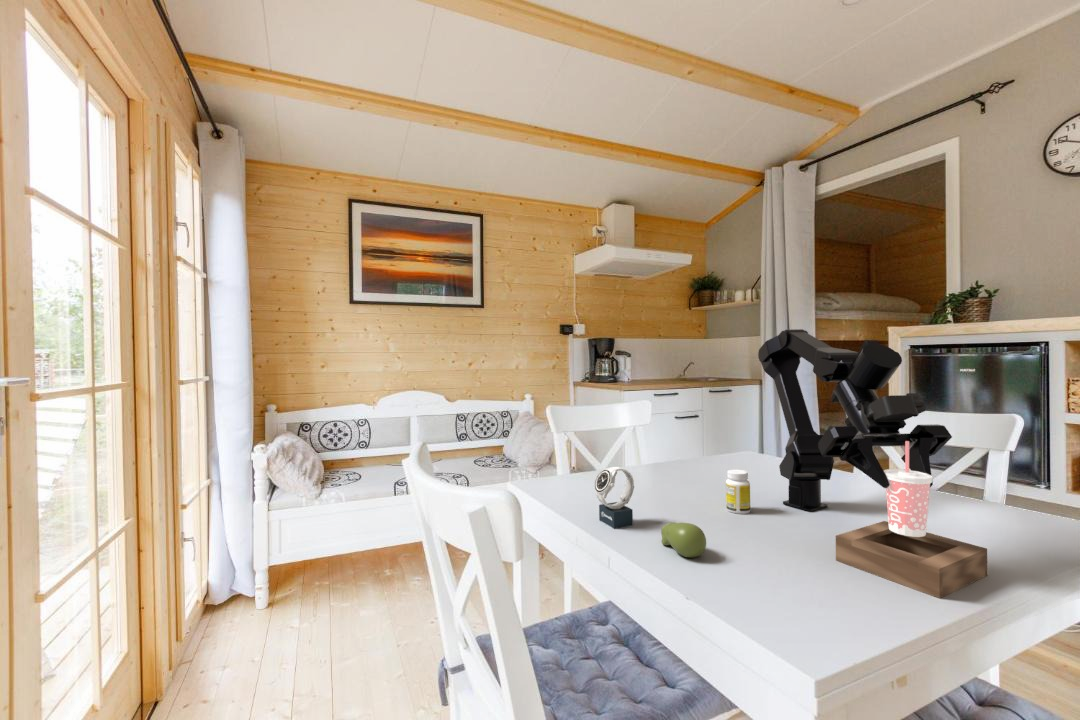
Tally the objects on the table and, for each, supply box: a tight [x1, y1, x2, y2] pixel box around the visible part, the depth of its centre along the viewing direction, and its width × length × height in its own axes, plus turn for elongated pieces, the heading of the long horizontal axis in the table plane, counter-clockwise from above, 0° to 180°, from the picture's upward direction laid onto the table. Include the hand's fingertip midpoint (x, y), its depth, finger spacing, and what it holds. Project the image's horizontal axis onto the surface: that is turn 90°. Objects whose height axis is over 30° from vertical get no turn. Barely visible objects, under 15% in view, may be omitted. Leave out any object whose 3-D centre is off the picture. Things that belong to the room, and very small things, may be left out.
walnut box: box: [835, 520, 988, 599], centre depth 75 cm, size 14×14×4 cm
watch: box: [594, 466, 635, 530], centre depth 97 cm, size 6×8×11 cm
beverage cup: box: [883, 441, 933, 537], centre depth 75 cm, size 6×6×14 cm
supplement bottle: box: [725, 469, 751, 515], centre depth 103 cm, size 5×5×8 cm
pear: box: [660, 522, 707, 559], centre depth 83 cm, size 6×5×10 cm
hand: (908, 486), depth 75 cm, fingers closed on beverage cup, 6 cm apart
